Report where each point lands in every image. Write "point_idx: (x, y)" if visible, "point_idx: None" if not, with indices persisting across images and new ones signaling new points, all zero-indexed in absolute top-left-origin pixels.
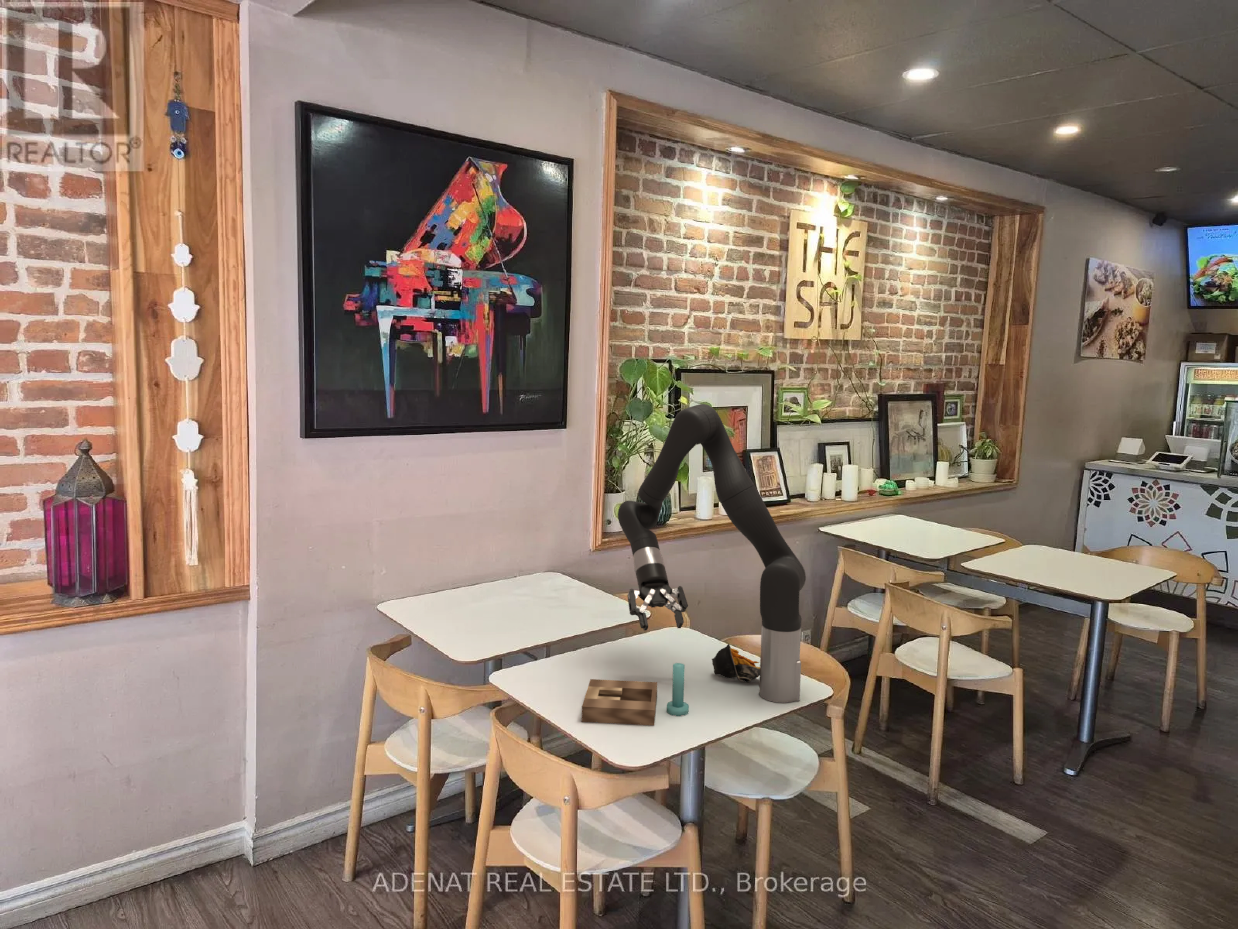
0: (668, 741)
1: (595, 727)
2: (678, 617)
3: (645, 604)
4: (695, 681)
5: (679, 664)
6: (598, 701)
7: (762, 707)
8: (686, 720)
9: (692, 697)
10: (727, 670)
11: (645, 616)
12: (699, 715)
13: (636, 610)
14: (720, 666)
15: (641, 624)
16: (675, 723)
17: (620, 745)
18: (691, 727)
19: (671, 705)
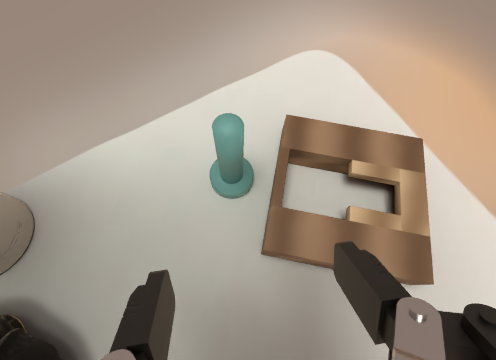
0: (266, 85)
1: None
2: (155, 300)
3: (418, 357)
4: None
5: (225, 130)
6: (394, 157)
7: (60, 183)
8: None
9: (184, 243)
10: (41, 341)
11: (372, 279)
12: (195, 160)
13: (458, 324)
14: (51, 356)
15: (374, 259)
16: (245, 135)
17: (336, 81)
18: None
19: (244, 173)
